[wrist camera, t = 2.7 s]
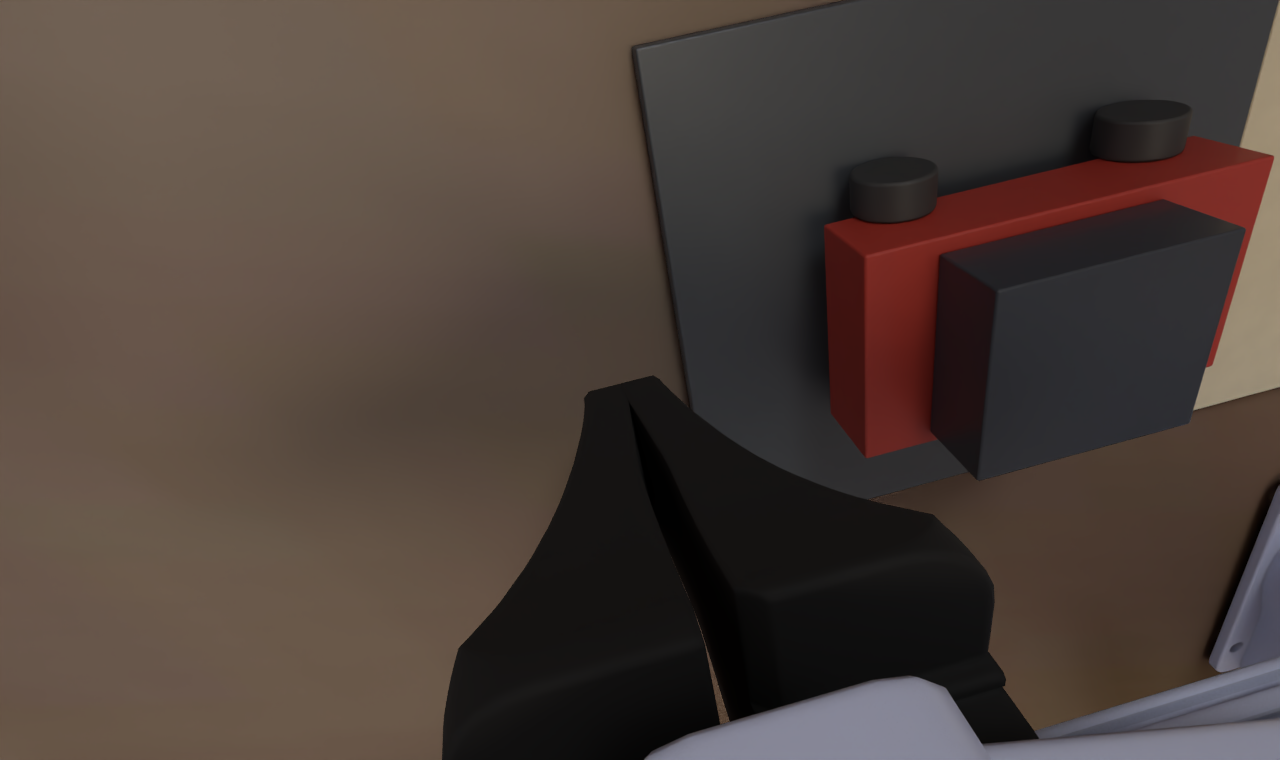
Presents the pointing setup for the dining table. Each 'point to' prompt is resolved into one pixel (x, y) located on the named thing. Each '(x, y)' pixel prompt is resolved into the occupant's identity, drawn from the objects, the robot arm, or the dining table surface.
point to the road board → (923, 128)
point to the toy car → (1038, 294)
